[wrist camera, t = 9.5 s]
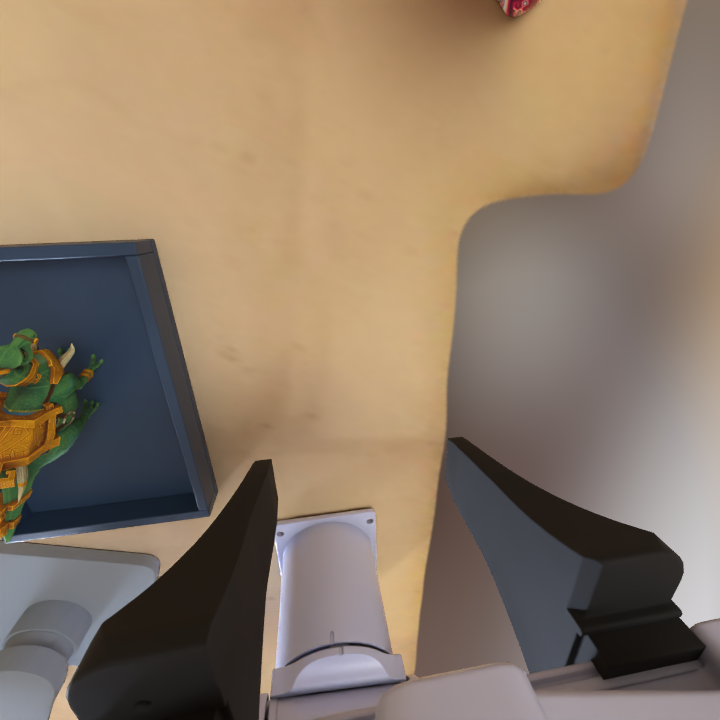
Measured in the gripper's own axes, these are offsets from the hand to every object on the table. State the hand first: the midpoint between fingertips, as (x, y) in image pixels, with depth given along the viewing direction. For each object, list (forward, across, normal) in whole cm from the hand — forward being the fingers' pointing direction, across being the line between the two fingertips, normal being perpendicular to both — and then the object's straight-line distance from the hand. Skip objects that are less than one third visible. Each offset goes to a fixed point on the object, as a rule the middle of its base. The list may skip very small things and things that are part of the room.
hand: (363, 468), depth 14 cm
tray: (+9, +16, 0) cm, 18 cm away
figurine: (+9, +16, 0) cm, 18 cm away
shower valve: (+10, +23, +19) cm, 31 cm away
